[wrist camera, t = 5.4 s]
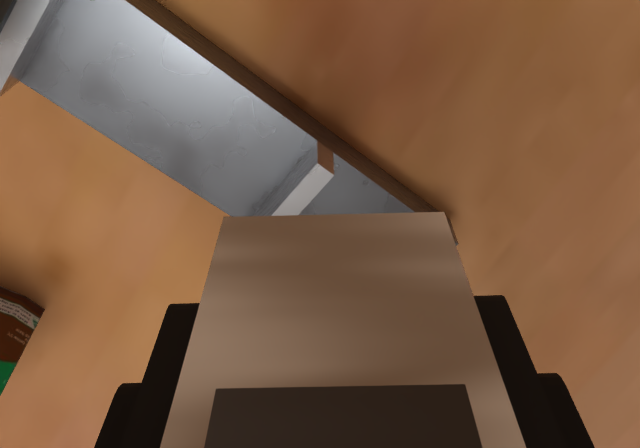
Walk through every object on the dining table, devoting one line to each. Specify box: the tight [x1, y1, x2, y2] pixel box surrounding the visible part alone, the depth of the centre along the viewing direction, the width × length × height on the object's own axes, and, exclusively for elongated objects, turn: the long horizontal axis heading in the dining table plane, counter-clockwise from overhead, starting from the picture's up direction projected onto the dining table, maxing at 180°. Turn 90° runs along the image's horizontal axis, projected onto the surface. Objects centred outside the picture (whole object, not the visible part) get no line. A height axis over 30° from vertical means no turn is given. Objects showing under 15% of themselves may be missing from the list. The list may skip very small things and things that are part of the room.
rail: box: [0, 0, 458, 246], centre depth 24 cm, size 25×5×4 cm, turn 51°
